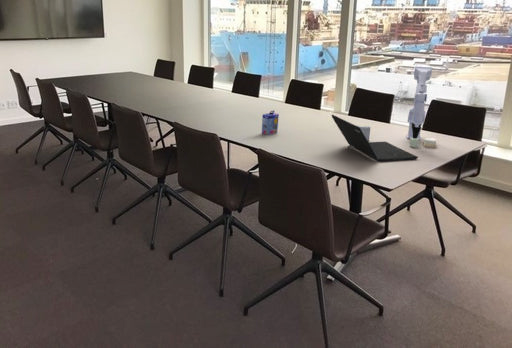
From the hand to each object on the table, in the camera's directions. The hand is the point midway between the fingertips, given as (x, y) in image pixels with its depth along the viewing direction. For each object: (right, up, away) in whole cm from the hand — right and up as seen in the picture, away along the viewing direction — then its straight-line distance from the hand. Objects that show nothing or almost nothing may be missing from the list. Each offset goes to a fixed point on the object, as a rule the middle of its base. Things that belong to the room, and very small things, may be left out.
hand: (414, 136), depth 277 cm
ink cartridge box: (-84, +4, +20) cm, 86 cm away
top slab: (+10, -3, +4) cm, 11 cm away
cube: (0, -5, +2) cm, 6 cm away
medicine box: (-28, -1, +11) cm, 31 cm away
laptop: (-29, -10, -14) cm, 34 cm away
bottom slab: (+10, -5, +4) cm, 12 cm away
